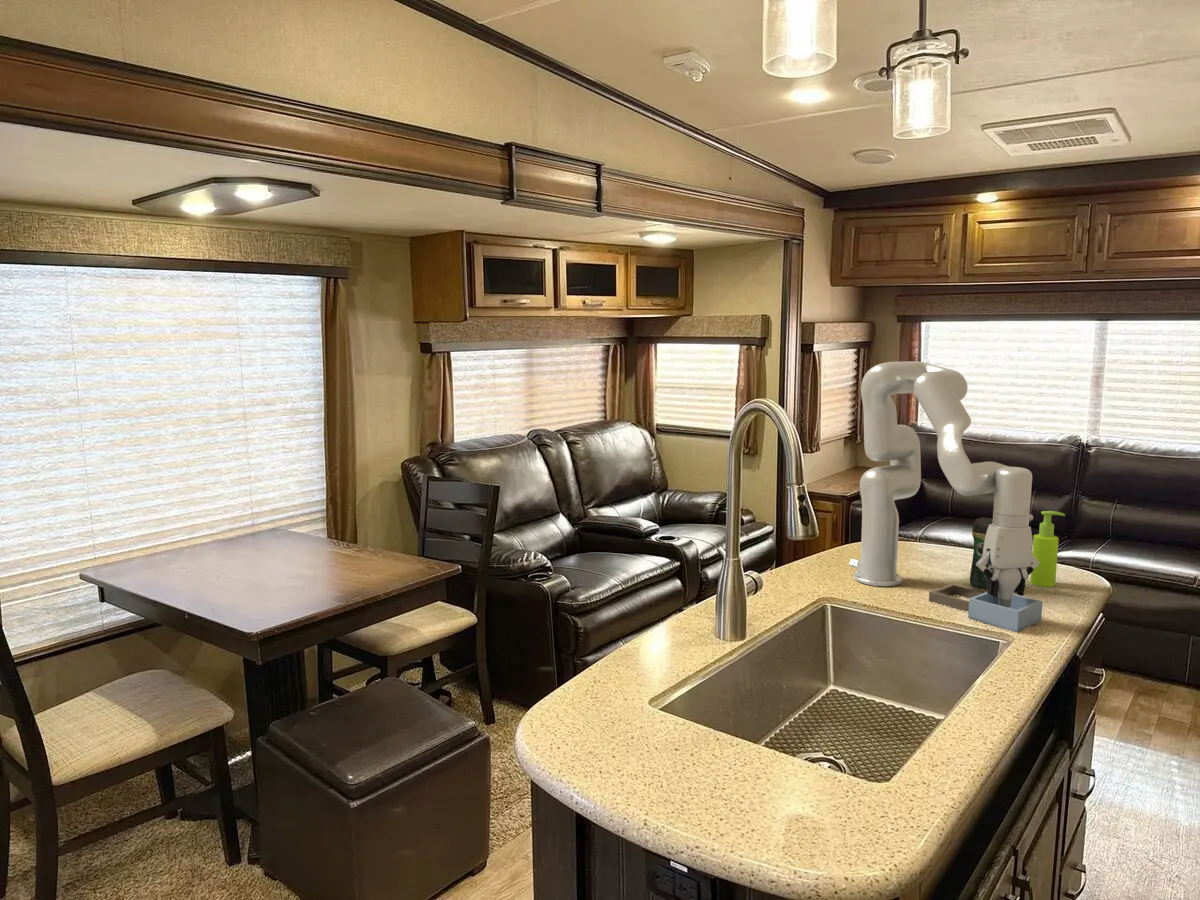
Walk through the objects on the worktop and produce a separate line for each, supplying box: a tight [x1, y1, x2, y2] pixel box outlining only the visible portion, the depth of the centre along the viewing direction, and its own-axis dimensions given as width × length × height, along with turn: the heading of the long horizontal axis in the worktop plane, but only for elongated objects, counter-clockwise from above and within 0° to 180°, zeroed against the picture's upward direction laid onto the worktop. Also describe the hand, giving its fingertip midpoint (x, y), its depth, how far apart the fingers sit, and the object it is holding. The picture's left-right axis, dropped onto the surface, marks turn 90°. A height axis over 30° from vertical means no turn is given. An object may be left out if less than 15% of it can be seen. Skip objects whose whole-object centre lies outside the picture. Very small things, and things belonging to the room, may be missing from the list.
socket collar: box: [928, 583, 986, 612], centre depth 206 cm, size 11×11×2 cm
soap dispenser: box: [1029, 510, 1066, 588], centre depth 219 cm, size 6×7×20 cm
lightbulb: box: [993, 568, 1021, 608], centre depth 192 cm, size 6×6×11 cm
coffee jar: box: [969, 517, 993, 590], centre depth 217 cm, size 10×8×19 cm
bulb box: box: [967, 591, 1044, 633], centre depth 193 cm, size 12×12×5 cm
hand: (1005, 594), depth 193 cm, fingers closed on lightbulb, 5 cm apart
